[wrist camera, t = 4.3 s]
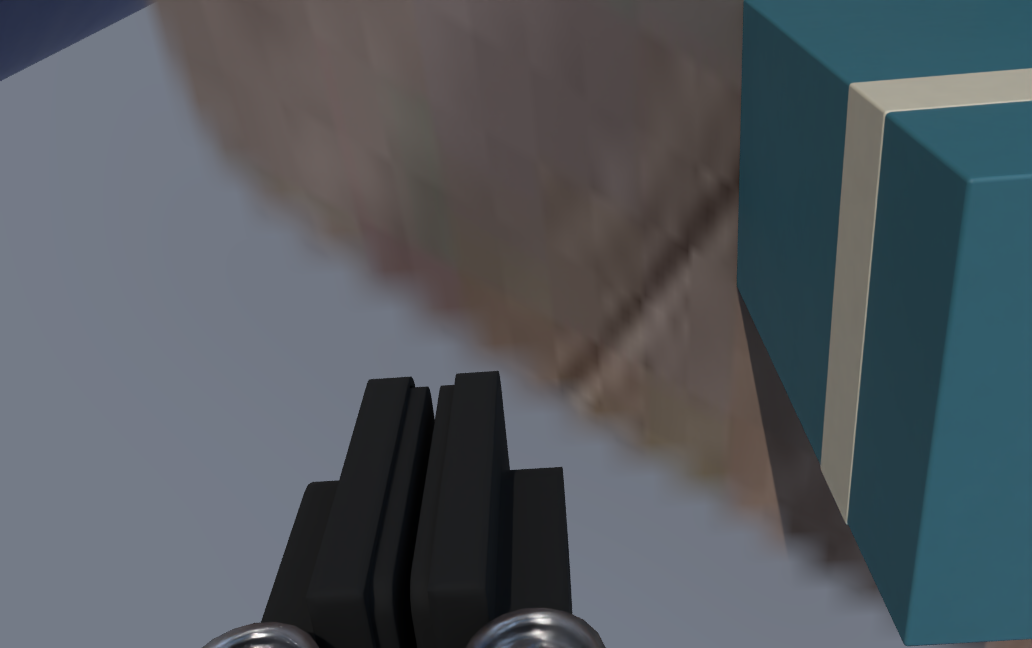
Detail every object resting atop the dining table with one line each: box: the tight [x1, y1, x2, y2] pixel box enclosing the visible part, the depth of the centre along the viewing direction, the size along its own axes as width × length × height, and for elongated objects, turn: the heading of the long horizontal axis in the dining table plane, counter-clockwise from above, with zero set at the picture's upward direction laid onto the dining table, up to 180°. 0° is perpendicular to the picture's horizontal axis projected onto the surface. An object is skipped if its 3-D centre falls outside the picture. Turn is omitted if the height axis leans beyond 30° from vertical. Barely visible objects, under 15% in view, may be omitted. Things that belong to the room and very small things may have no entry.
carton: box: [737, 0, 1032, 646], centre depth 17 cm, size 5×7×12 cm
